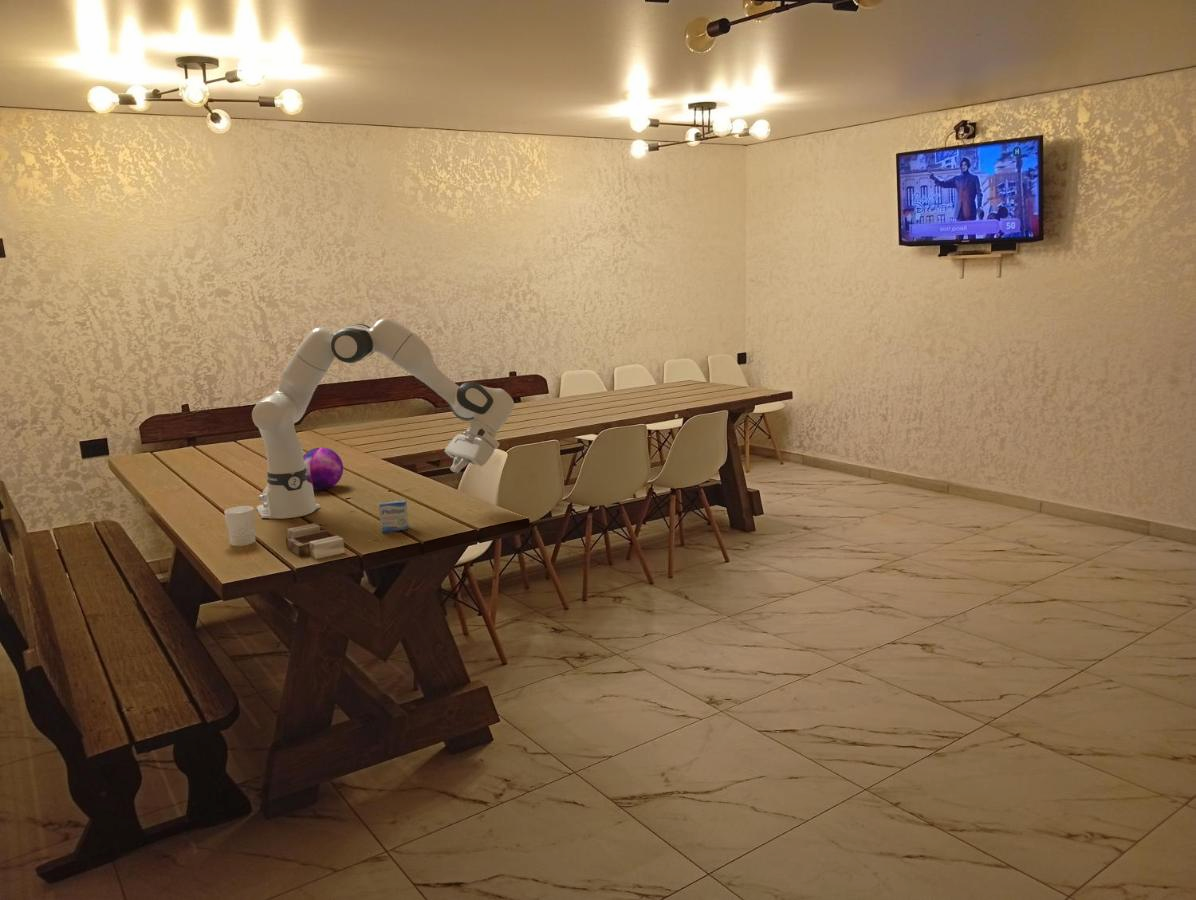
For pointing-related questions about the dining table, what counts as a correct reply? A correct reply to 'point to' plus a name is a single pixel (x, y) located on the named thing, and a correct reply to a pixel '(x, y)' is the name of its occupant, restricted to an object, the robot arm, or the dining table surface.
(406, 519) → the medicine box
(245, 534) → the white cup
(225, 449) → the dining table surface
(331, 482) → the decorative orb
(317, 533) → the wooden tray
